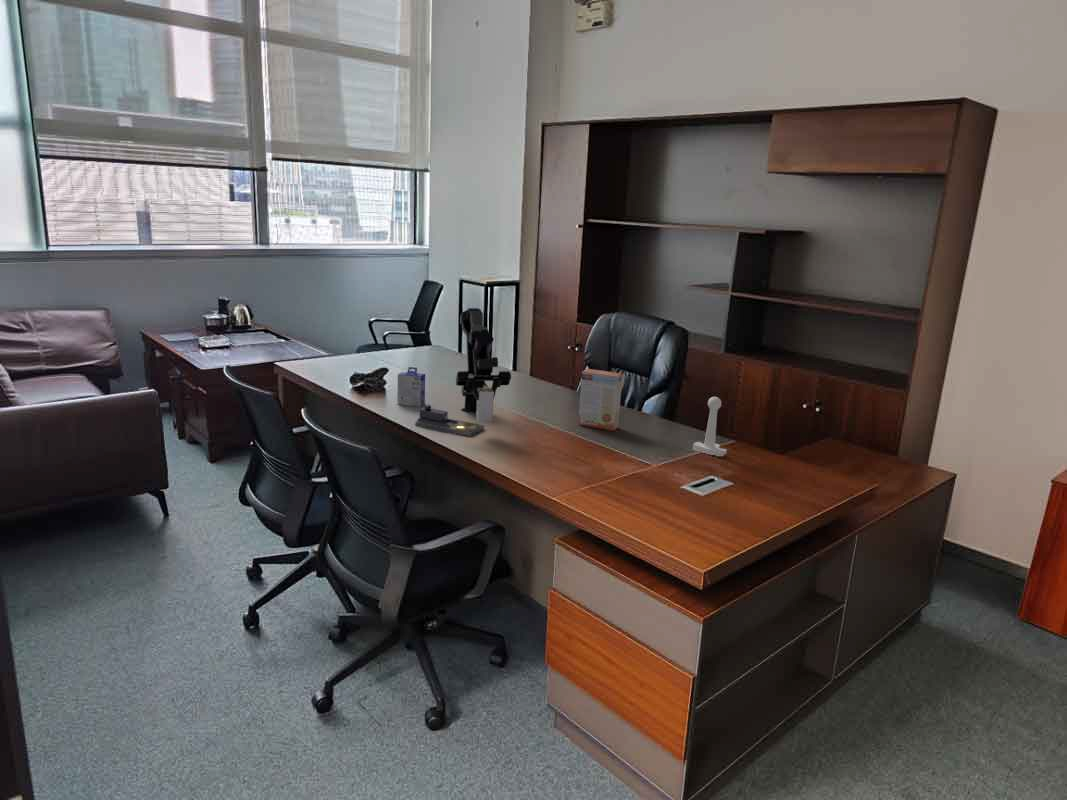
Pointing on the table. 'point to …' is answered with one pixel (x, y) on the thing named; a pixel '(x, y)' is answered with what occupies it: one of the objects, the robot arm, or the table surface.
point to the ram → (433, 414)
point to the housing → (485, 404)
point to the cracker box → (600, 399)
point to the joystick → (711, 431)
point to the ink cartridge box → (411, 388)
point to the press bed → (451, 426)
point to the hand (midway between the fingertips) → (485, 399)
